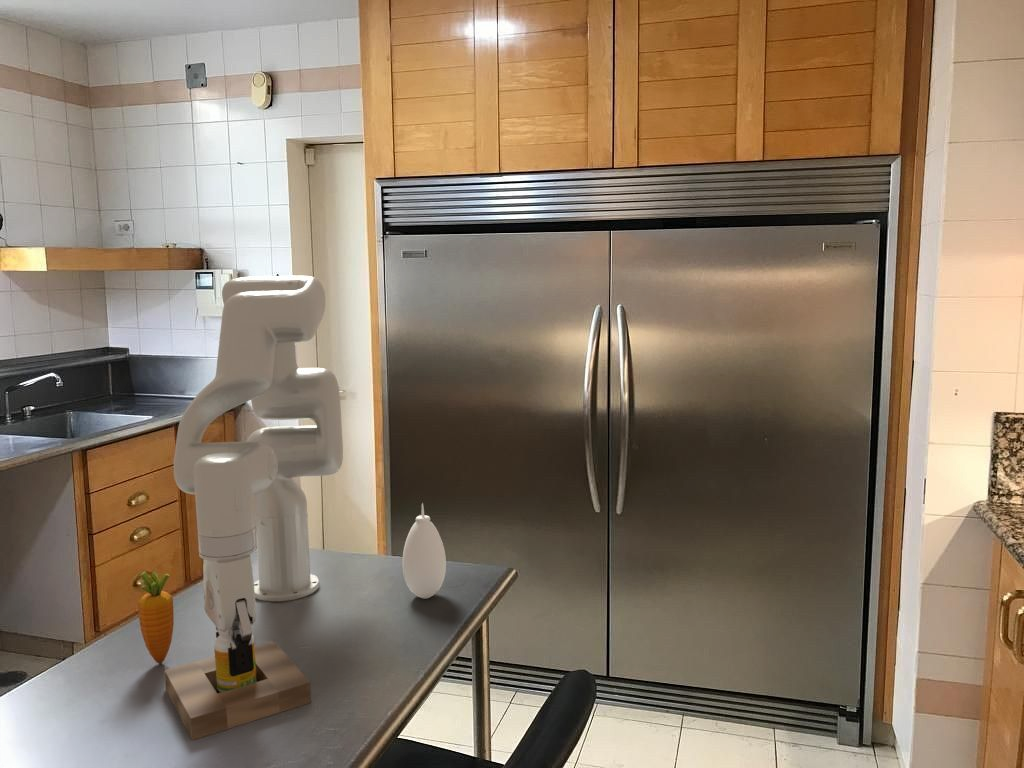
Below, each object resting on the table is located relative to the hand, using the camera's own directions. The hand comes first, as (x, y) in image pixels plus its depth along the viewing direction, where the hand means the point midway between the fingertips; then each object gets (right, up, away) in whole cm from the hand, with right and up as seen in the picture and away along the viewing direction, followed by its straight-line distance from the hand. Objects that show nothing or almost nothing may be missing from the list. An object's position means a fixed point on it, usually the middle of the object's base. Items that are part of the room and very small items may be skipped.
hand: (235, 663), depth 116 cm
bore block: (0, -5, 0) cm, 5 cm away
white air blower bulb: (+23, 0, +35) cm, 42 cm away
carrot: (-15, -4, +11) cm, 19 cm away
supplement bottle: (0, -4, +1) cm, 4 cm away
